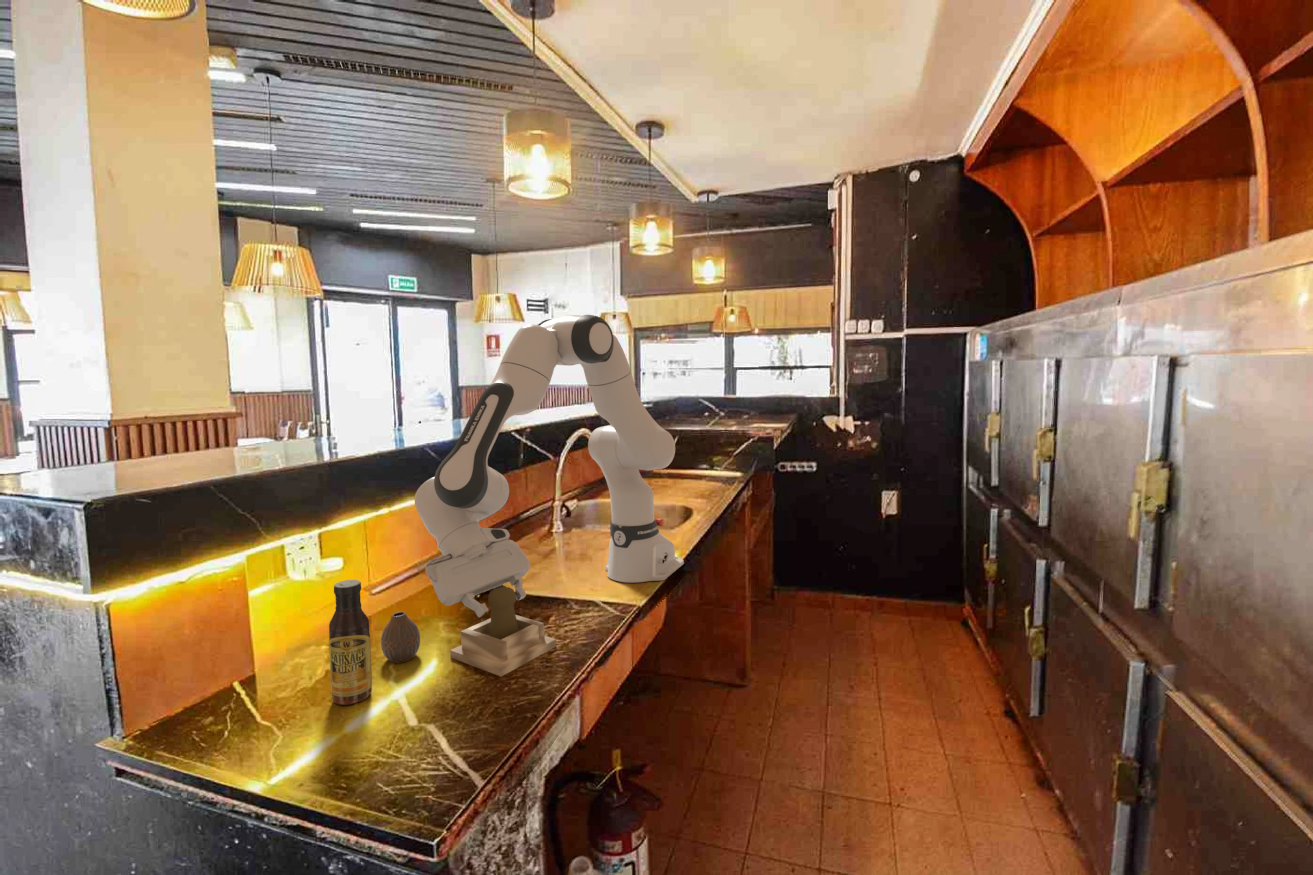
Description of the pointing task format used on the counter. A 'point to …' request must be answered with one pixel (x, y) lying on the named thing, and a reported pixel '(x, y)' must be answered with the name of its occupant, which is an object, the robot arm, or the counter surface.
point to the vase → (400, 638)
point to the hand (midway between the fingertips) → (503, 605)
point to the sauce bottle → (349, 646)
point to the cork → (502, 612)
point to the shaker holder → (502, 646)
